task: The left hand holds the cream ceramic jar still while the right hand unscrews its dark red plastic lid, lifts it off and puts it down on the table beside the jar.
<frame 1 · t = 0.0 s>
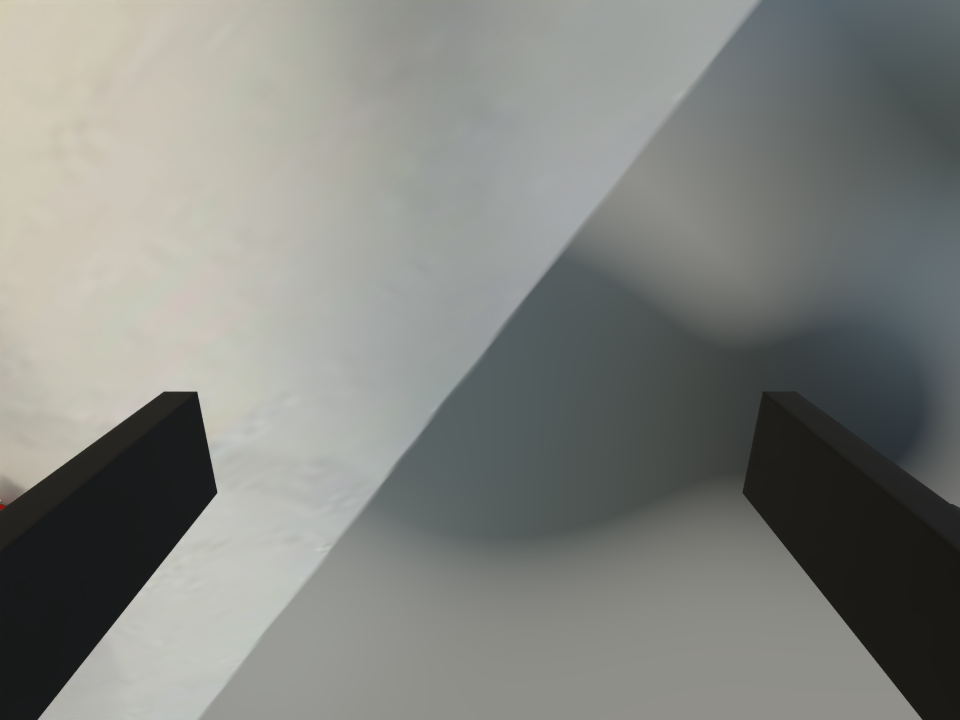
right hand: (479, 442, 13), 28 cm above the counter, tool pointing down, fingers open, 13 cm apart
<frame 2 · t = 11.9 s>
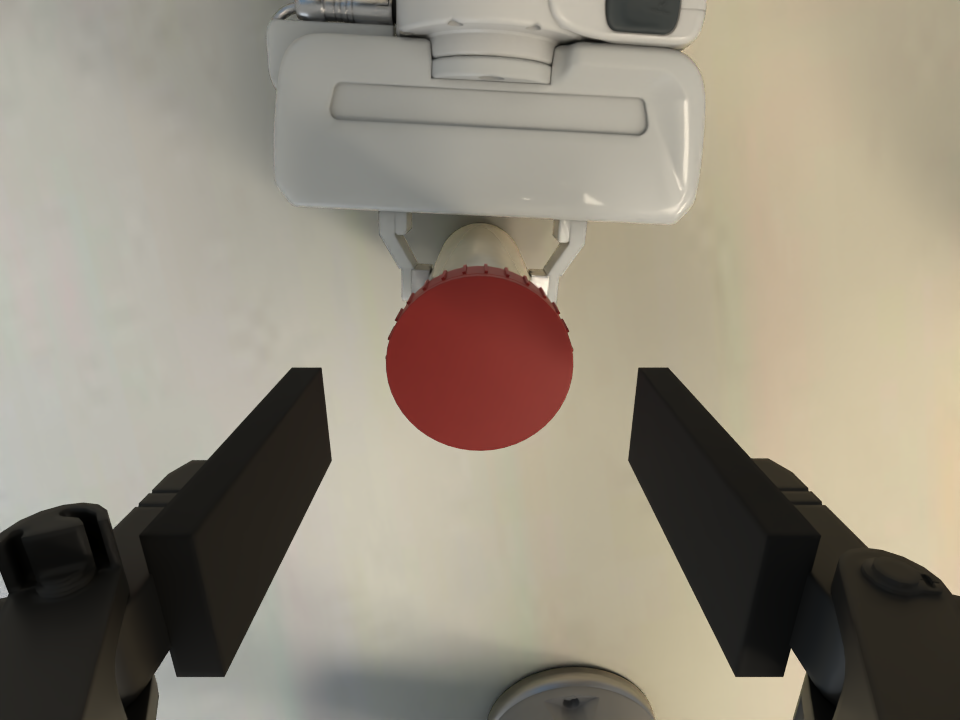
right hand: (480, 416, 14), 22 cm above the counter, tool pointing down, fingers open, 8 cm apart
left hand: (479, 302, 29), fingers closed on jar, 5 cm apart
lid: (479, 365, 18), point 18 cm above the counter, screwed on, not yet turned
jar: (479, 265, 34), on the counter, touching left hand
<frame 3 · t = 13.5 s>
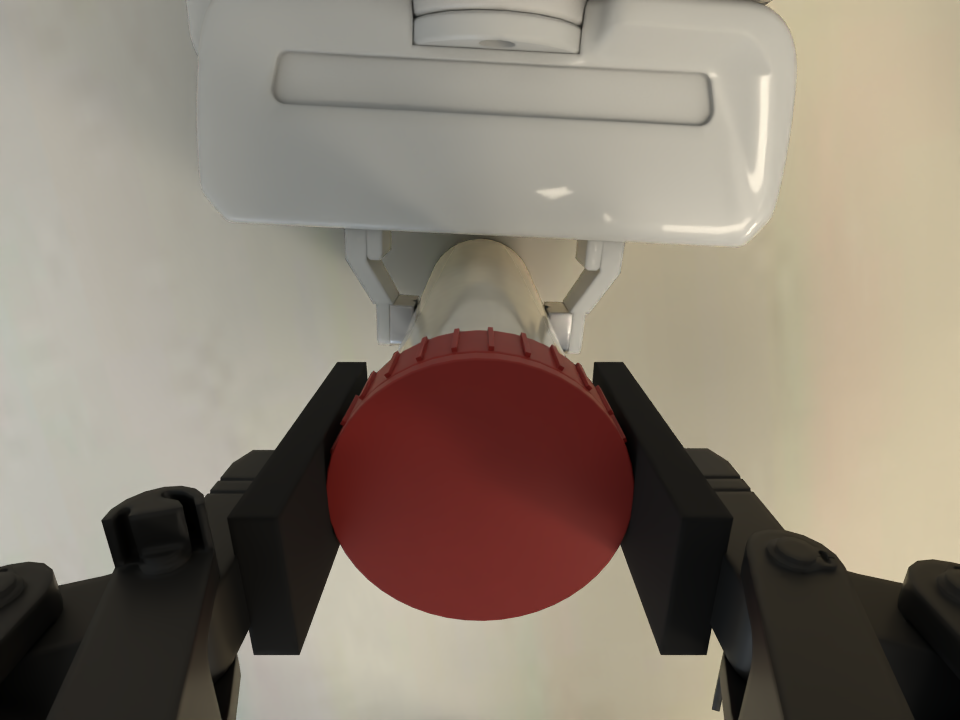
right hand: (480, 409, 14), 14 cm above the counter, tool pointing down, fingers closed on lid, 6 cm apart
left hand: (480, 345, 22), fingers closed on jar, 5 cm apart
lid: (480, 492, 11), point 18 cm above the counter, screwed on, not yet turned, touching right hand
jar: (480, 290, 28), on the counter, touching left hand
when the right hand's fingers open (14 cm above the counter, at t = 15.0 s): lid stays where it is, point 18 cm above the counter.
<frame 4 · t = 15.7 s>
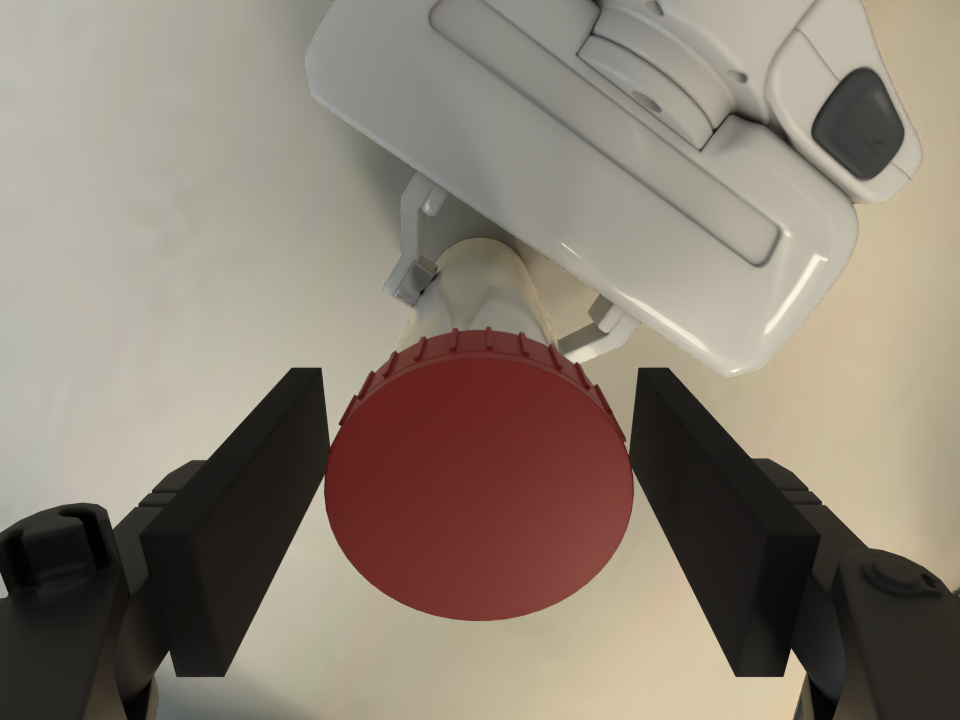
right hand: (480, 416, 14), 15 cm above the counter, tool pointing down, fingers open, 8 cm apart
left hand: (468, 340, 22), fingers closed on jar, 5 cm apart
lid: (479, 492, 11), point 18 cm above the counter, turned 108° so far, risen 0.3 cm, still on its thread
jar: (479, 289, 28), on the counter, touching left hand
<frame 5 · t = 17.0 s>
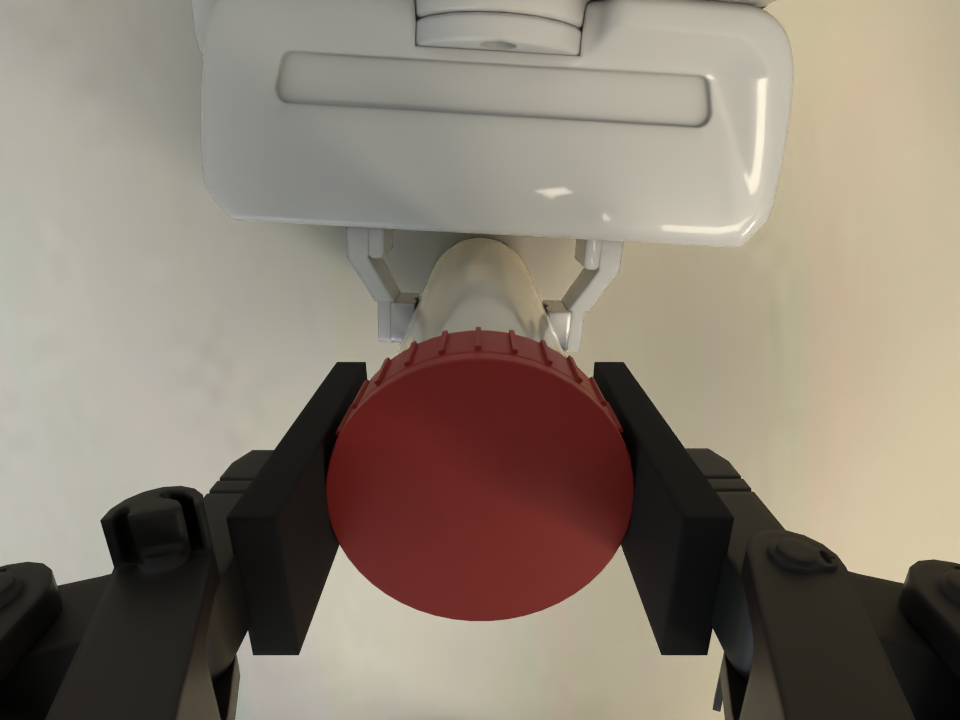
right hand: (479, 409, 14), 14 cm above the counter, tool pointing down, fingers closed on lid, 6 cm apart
left hand: (480, 343, 22), fingers closed on jar, 5 cm apart
lid: (480, 493, 11), point 18 cm above the counter, turned 108° so far, risen 0.3 cm, still on its thread, touching right hand
jar: (480, 289, 28), on the counter, touching left hand
when the right hand's fingers open (0 cm above the counter, at t = 24.8 s): lid drops 3 cm, point 1 cm above the counter.
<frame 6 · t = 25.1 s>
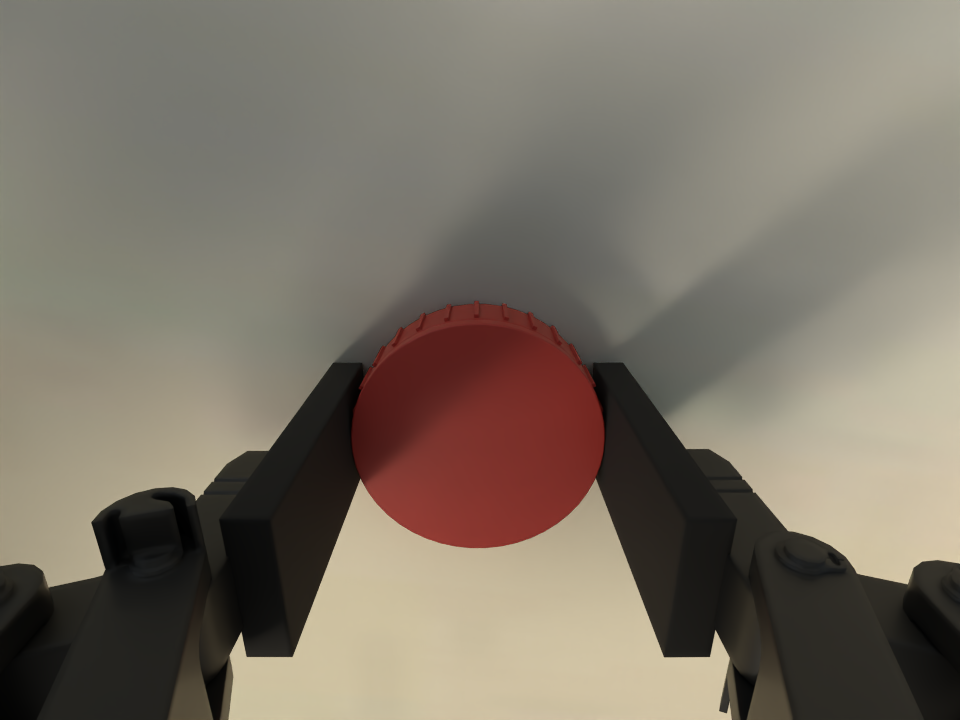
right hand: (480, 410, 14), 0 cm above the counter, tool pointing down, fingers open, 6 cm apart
lid: (478, 438, 13), point 1 cm above the counter, off its thread
when the left hand's fingers open (6 cm above the counter, at t = 26.1 s): jar stays where it is, on the counter.
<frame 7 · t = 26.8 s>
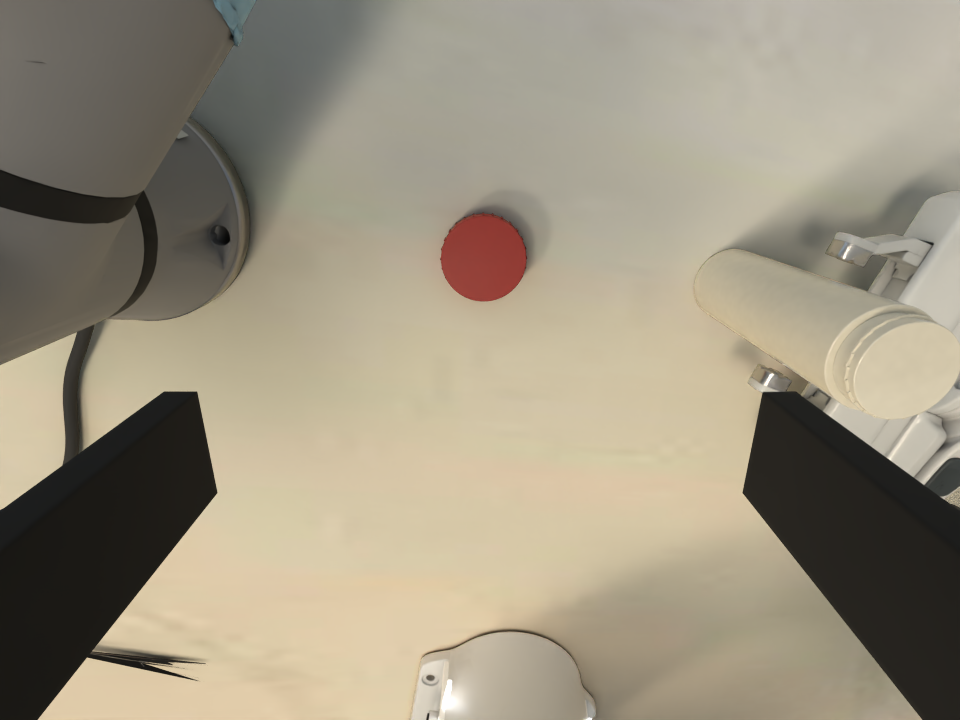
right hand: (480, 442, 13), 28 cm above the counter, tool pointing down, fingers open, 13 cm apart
lid: (483, 259, 38), point 1 cm above the counter, off its thread
jar: (729, 284, 40), on the counter
feather: (70, 644, 53), on the counter
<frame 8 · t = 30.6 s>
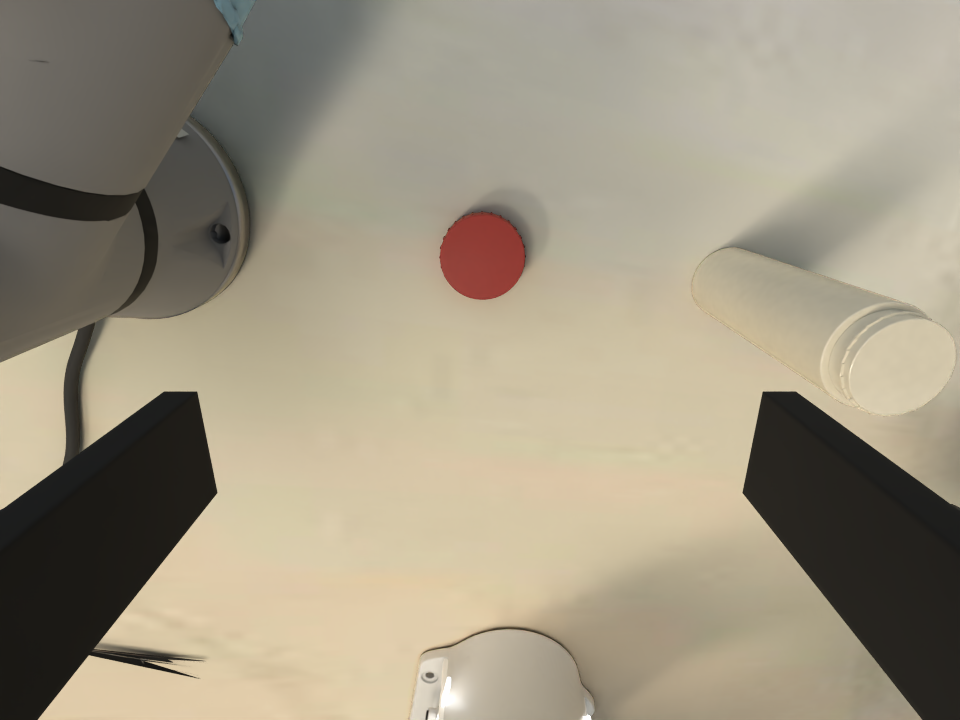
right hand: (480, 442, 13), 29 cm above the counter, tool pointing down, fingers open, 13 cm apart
lid: (482, 257, 38), point 1 cm above the counter, off its thread
jar: (726, 282, 40), on the counter
feather: (70, 642, 53), on the counter
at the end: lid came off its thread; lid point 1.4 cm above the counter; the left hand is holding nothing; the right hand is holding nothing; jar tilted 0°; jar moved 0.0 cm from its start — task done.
